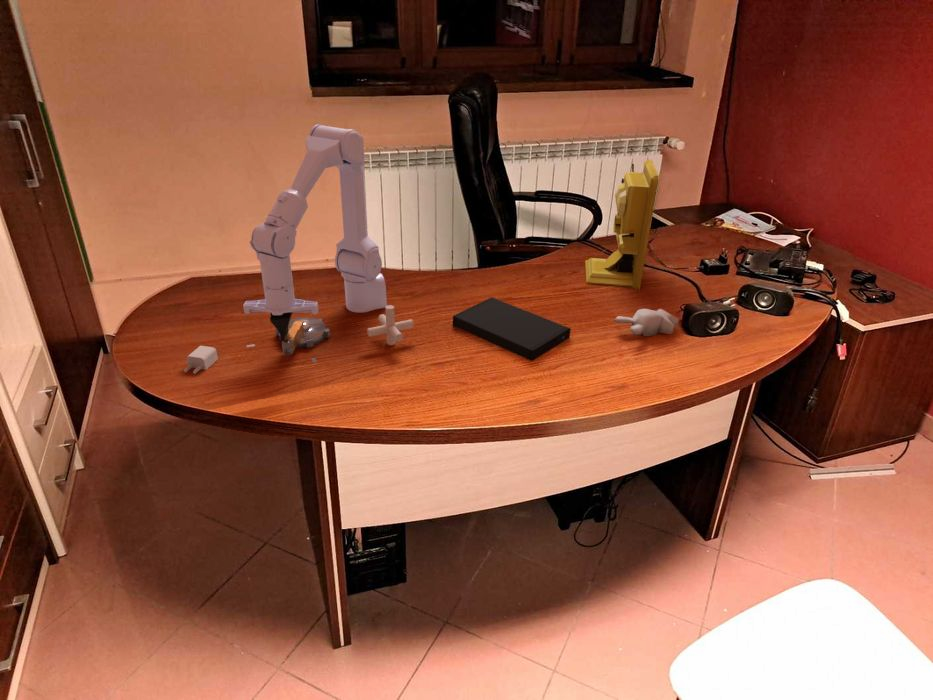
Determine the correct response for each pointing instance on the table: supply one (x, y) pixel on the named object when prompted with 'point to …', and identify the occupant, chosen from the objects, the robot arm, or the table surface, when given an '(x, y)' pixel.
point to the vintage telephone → (628, 231)
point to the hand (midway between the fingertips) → (285, 343)
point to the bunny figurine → (650, 322)
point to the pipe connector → (390, 326)
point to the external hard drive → (511, 328)
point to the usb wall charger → (201, 358)
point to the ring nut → (303, 334)
